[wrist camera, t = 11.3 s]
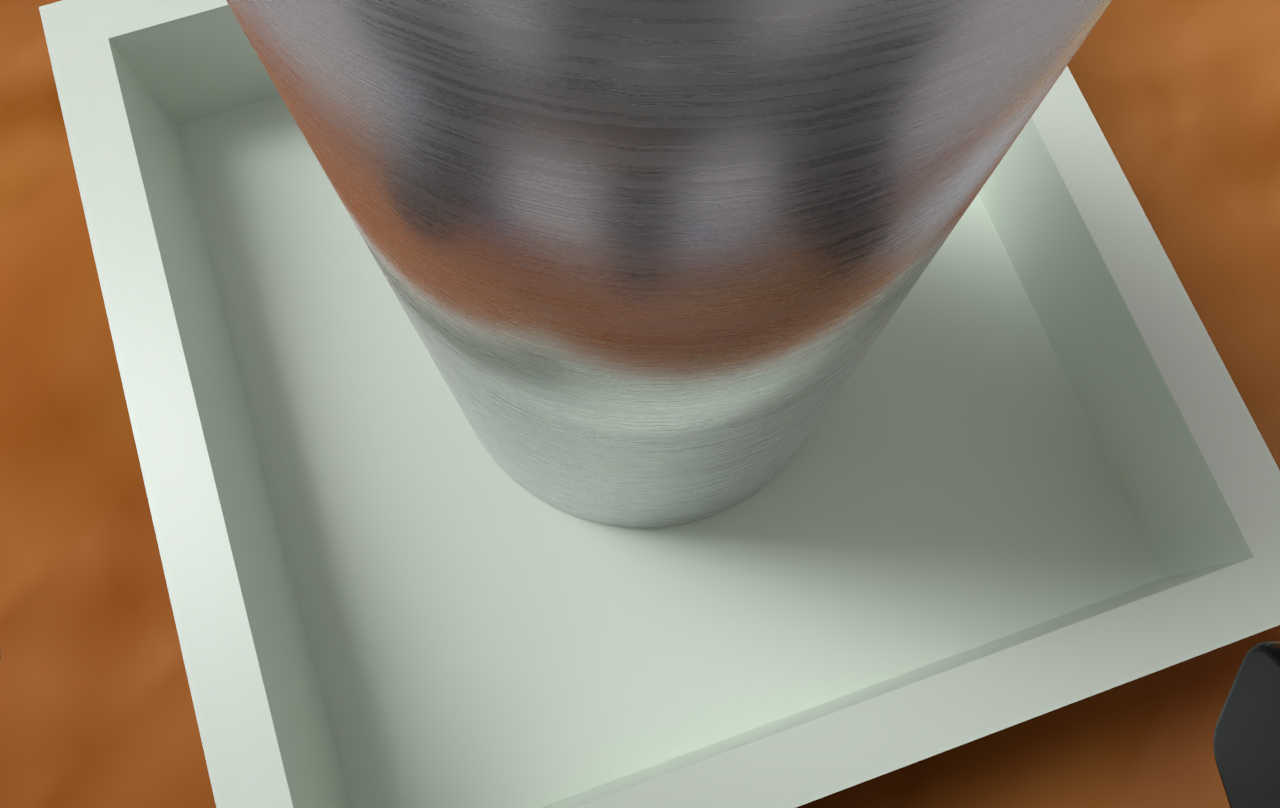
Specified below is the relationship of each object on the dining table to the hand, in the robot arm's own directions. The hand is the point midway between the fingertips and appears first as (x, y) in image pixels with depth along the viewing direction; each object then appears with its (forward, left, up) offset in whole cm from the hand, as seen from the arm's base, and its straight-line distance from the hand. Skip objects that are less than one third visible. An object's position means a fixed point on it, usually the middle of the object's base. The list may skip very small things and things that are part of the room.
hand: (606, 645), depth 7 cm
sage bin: (+4, -2, -8) cm, 9 cm away
